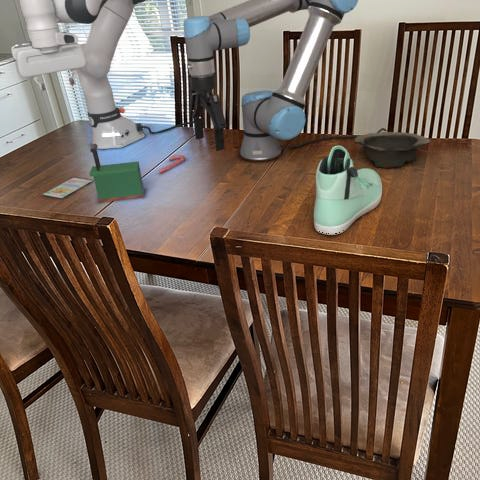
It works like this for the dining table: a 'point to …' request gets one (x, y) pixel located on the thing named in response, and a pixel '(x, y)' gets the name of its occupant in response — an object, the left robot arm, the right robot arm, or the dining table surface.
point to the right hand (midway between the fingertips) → (209, 144)
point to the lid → (110, 166)
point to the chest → (119, 186)
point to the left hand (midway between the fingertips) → (58, 87)
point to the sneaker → (343, 192)
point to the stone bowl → (391, 147)
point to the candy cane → (181, 159)
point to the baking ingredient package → (67, 187)
